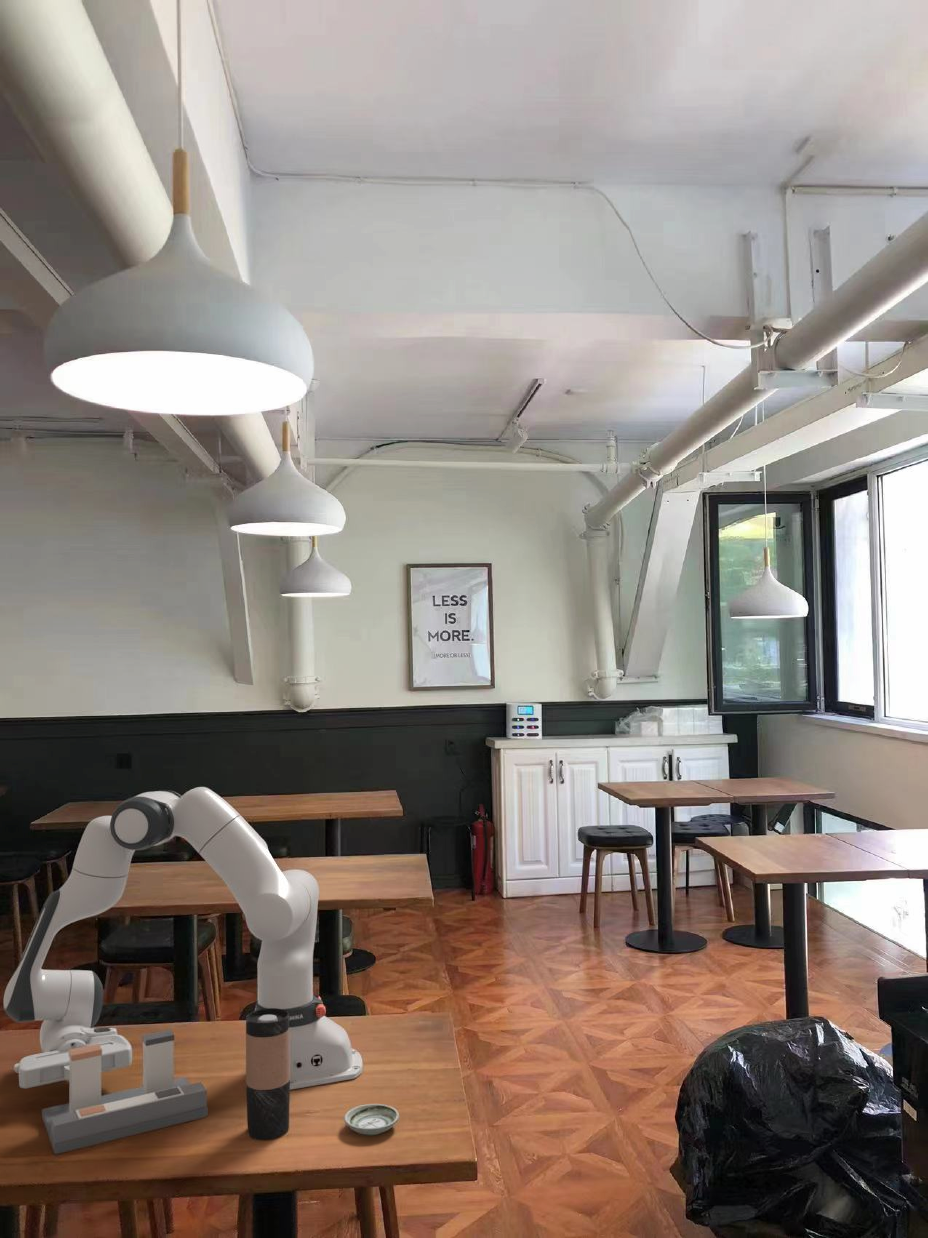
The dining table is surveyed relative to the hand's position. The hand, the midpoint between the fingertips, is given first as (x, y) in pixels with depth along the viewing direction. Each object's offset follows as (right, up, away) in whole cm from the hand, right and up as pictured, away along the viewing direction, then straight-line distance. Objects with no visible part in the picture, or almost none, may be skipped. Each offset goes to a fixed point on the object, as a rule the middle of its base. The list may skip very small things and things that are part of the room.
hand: (82, 1077), depth 182 cm
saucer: (+54, -6, -8) cm, 55 cm away
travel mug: (+36, -6, -8) cm, 38 cm away
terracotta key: (+2, -4, -4) cm, 6 cm away
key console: (+9, -6, -2) cm, 11 cm away
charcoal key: (+13, -5, +3) cm, 14 cm away
